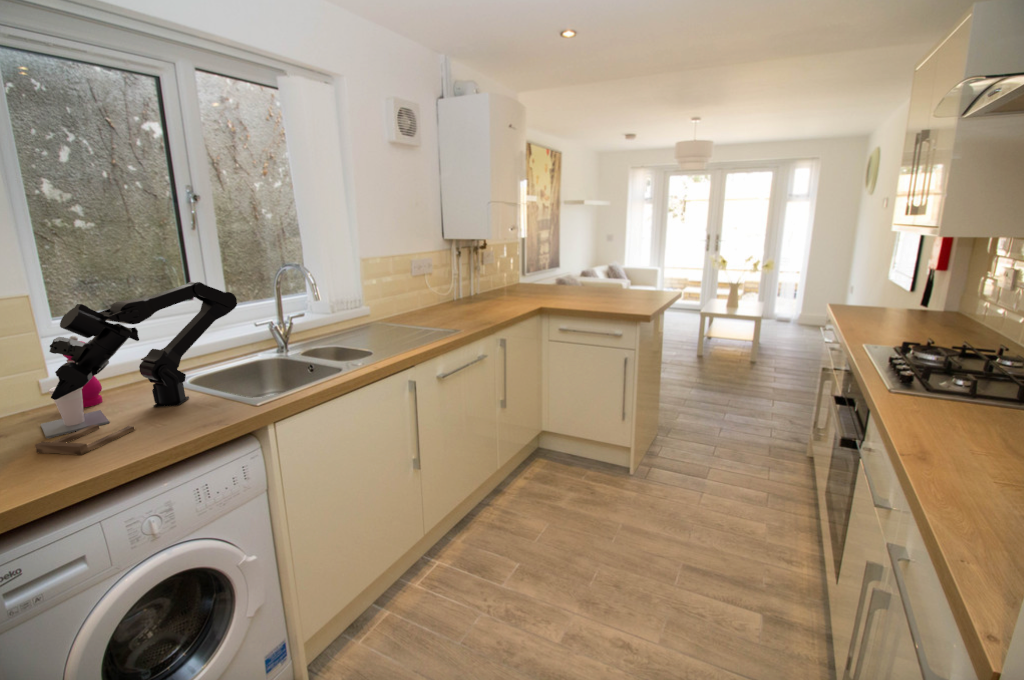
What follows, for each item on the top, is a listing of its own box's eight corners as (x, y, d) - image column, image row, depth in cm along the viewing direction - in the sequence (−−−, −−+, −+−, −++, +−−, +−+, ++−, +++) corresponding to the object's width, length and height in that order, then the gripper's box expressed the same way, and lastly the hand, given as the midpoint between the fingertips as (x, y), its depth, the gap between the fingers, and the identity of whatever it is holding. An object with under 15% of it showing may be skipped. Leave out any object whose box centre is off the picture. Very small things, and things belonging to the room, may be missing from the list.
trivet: (100, 411, 134) (100, 409, 133) (109, 423, 126) (109, 420, 126) (40, 425, 125) (40, 423, 125) (46, 438, 117) (45, 436, 117)
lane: (93, 428, 123) (92, 420, 122) (134, 430, 121) (132, 422, 121) (36, 452, 110) (34, 444, 109) (81, 455, 108) (79, 446, 108)
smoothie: (53, 429, 121) (38, 375, 118) (64, 420, 127) (51, 368, 123) (85, 425, 123) (71, 372, 120) (95, 416, 129) (82, 365, 126)
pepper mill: (78, 410, 135) (61, 340, 130) (67, 405, 139) (50, 337, 134) (109, 402, 141) (94, 334, 136) (98, 398, 145) (83, 332, 140)
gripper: (83, 319, 129) (39, 365, 127) (56, 332, 113) (6, 386, 111) (126, 344, 134) (85, 389, 132) (107, 360, 118) (59, 412, 116)
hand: (60, 393), depth 123 cm, fingers open, 9 cm apart
